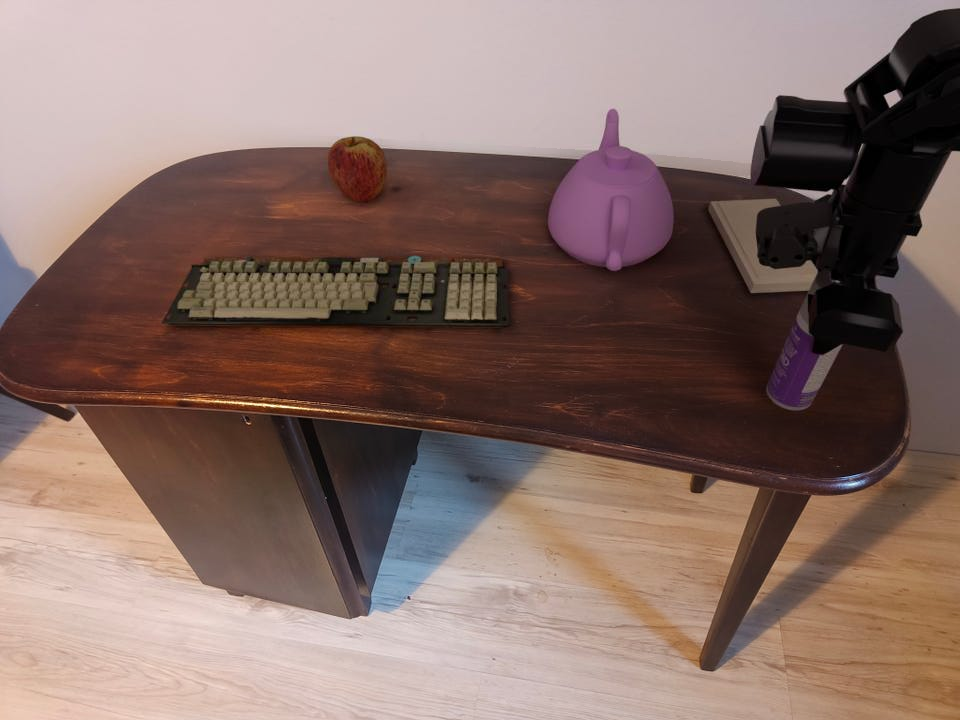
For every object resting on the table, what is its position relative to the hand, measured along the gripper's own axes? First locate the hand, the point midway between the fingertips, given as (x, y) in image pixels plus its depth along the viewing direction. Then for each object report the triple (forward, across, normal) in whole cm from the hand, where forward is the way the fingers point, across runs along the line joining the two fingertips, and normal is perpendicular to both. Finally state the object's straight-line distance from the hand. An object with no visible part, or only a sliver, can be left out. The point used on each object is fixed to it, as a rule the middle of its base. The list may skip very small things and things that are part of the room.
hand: (816, 335), depth 62 cm
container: (+9, 0, 0) cm, 9 cm away
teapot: (+12, -28, -25) cm, 39 cm away
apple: (+12, -27, -65) cm, 71 cm away
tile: (+11, -31, -3) cm, 33 cm away
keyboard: (+11, -4, -56) cm, 57 cm away
